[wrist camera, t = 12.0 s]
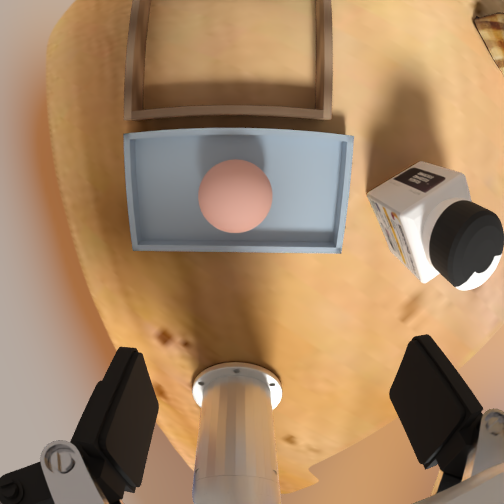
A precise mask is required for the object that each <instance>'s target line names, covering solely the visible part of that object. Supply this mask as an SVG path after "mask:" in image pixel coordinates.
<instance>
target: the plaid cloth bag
mask: <svg viewBox="0 0 504 504" xmlns="http://www.w3.org/2000/svg"><path fill="white" fill-rule="evenodd" d="M474 22H475V24H476V27H477V29H478V31H479V32H480V34H481V36H482V38H483V40H484V41H485V43H486V45H487V47H488V49H489V52H490V53H491V55H492V57H493V59H494V61H495V62H496V64H497V65H498V67H499V68H500V70H501V72H502V73H503V75H504V13H496V14H492V15H488V16H484V17H481V18H479V17H478V16H476V19H475V20H474Z"/></svg>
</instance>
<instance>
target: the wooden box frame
mask: <svg viewBox="0 0 504 504" xmlns="http://www.w3.org/2000/svg"><path fill="white" fill-rule="evenodd" d="M150 3H151V0H133V3H132V9H131V17H130V24H129V33H128V43H127V54H126V68H125V88H124V120H132V121H138V120H147V119H158V118H171V117H188V116H224V115H237V116H273V117H290V118H303V119H314V120H330V119H331V116H332V80H333V41H332V8H331V0H316V103H315V109H305V108H293V107H278V106H256V105H207V106H185V107H170V108H158V109H148V110H143V85H144V64H145V50H146V38H147V27H148V18H149V10H150Z"/></svg>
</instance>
